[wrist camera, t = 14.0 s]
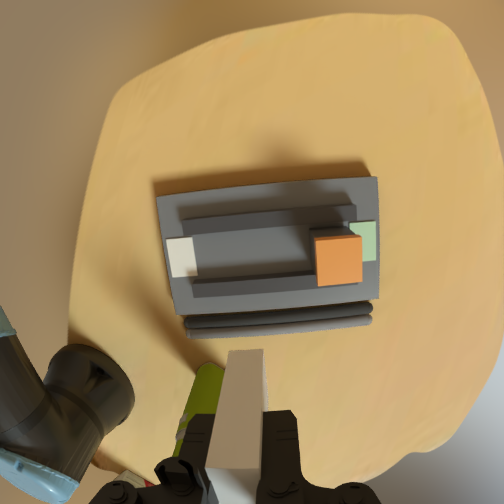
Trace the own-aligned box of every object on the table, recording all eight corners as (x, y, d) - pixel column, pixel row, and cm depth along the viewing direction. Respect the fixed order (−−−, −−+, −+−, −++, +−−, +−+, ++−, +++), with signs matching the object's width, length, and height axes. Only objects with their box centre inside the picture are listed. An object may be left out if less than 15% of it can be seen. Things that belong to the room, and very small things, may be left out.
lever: (310, 265, 35) (317, 286, 29) (307, 227, 34) (315, 241, 28) (347, 262, 35) (362, 281, 29) (346, 224, 34) (362, 237, 28)
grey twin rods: (188, 335, 41) (185, 341, 39) (184, 315, 40) (181, 320, 39) (370, 321, 39) (373, 326, 37) (371, 299, 38) (374, 304, 37)
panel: (180, 308, 40) (172, 320, 36) (161, 195, 36) (150, 198, 33) (373, 292, 38) (382, 304, 34) (371, 176, 34) (382, 177, 31)
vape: (206, 358, 41) (169, 476, 22) (242, 381, 42) (226, 502, 23) (191, 374, 42) (151, 488, 23) (226, 396, 43) (204, 513, 24)
